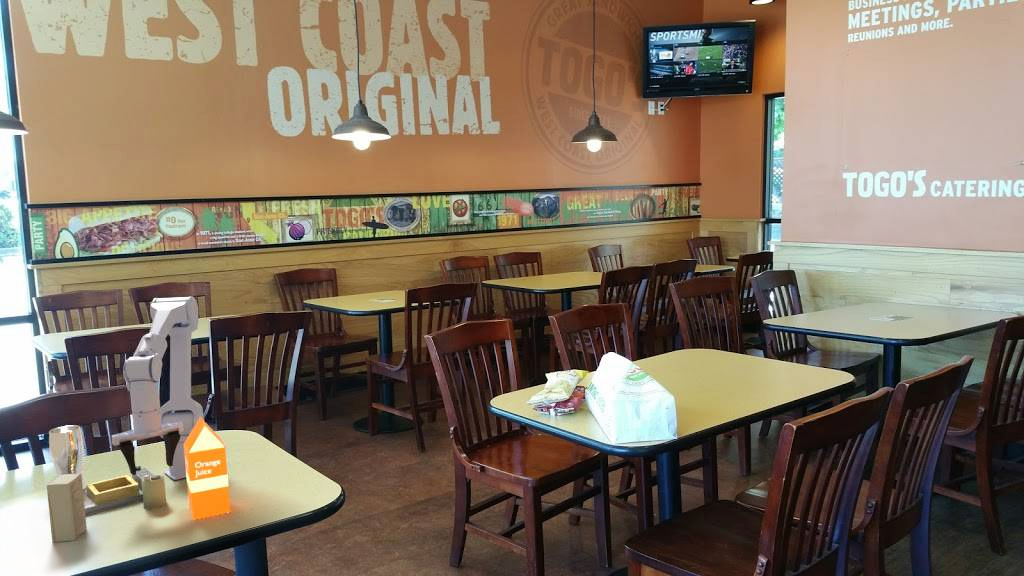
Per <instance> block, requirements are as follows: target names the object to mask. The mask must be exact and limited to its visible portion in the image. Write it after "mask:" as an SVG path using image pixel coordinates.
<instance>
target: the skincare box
mask: <svg viewBox="0 0 1024 576" xmlns="http://www.w3.org/2000/svg"><path fill="white" fill-rule="evenodd" d="M82 475H83V474H82ZM82 475H81V473H77V474H60V475H59V476H57V475H56V477H55V478H53V479H52V480H51V481H50V482H48V483H47V484H46V491H47V503H48V515H49V522H50V523H49V524H50V531H51V540H52V541H51V542H52V543H55V542H57V543H59V542H70V541H71V542H72V541H73V542H74V541H75V540H76V539H77V538H78V537H79V536H81V535H82V533H83V532H85V530H87V518H86V516H87V515H85V506H84V496H83V492H84V490H83V486H82Z"/></svg>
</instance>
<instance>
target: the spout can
mask: <svg viewBox="0 0 1024 576" xmlns="http://www.w3.org/2000/svg"><path fill="white" fill-rule="evenodd" d="M165 483H166V482H165V477H164V475H160V474H158V475H157V474H156V475H154V476H150V475H146V476H144V479H143V480H142V492H143V501H142V502H143V508H144V509H146V510H155V509H159V508H162V507H165V506H166V505H167V494H166V485H165Z"/></svg>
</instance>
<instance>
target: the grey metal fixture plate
mask: <svg viewBox="0 0 1024 576" xmlns="http://www.w3.org/2000/svg"><path fill="white" fill-rule="evenodd" d="M146 475H150V476H155V475H154V474H153V472H150V471H149V470H148V469H147V468H146V467H144V468H142V467H141V465H137V466H136V474H135V475H132V474H131V476H130V475H129V474H125V475H121V476H116V477H112V478H108V479H104V480H100V481H94V482H91V483H85V486H86V488H85V491H84V490H83V496H84V506H85V516H87V515H91V514H95V513H99V512H104V511H106V510H111V509H115V508H118V507H121V506H126V505H131V504H134V503H137V502H139V503H140V502H143V492H142V480H143V479H144V476H146Z"/></svg>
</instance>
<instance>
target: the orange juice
mask: <svg viewBox="0 0 1024 576" xmlns="http://www.w3.org/2000/svg"><path fill="white" fill-rule="evenodd" d="M184 453H185V464H186V485H187V486H186V487H187V495H188V506H189V510H191V511H190V514H191V516H192V519H193V521H197V520H196V519H198V520H202V519H201V518H203V519H206V518H205V517H207V518H211V517H210V516H212V517H216V516H215V515H217V516H220V515H219V514H222V515H224V514H223V513H227V512H231V501H230V491H229V488H230V487H229V478H228V477H229V475H228V467H227V456H226V445H225V444H224V442H223V441H222V439H221V437H220V436H219V435H218V434H217V433H216V432H215V431H214V430H213V429H212V427H210V425H208V423H207V422H205V419H204V420H203V419H202V418H201V417H200V418H199V420H198V421H197V423H196V425H195V426H194V428H193V430H192V431H191V433H190V435H189V436H188V438H187V440H186V441H185V443H184ZM227 514H228V513H227Z"/></svg>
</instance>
